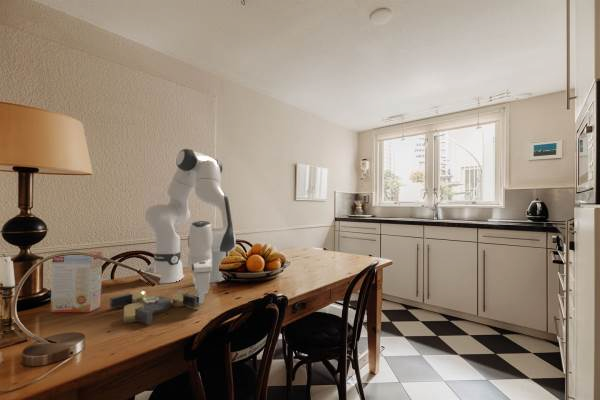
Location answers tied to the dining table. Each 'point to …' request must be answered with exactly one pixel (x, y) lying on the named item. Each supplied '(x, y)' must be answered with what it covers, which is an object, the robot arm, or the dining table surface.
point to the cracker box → (76, 283)
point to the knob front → (137, 313)
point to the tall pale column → (216, 266)
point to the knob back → (127, 298)
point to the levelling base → (155, 303)
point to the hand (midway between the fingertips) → (199, 298)
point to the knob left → (185, 299)
